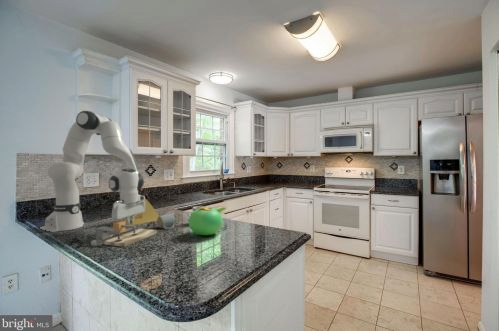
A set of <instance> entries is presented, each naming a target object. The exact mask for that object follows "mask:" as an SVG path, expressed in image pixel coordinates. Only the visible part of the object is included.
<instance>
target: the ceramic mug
mask: <svg viewBox="0 0 499 331" xmlns="http://www.w3.org/2000/svg"><path fill="white" fill-rule="evenodd" d="M156 222H157V226H158V228H160V229H165V230H166V231H171V230H173V229H174V227H175V224H176V219H175V216H174V214H173V213H172V212H171V213H167V214H162V215H159V217H158V219H157V221H156Z"/></svg>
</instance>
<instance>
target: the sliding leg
mask: <svg viewBox="0 0 499 331" xmlns="http://www.w3.org/2000/svg"><path fill="white" fill-rule="evenodd" d="M136 227H137V225H125V222H124V220H123V221H121V220H119V221H115V222H112V230H114V231H120V233H122V232H124V231H125V229H128V228H133V233H135V228H136Z"/></svg>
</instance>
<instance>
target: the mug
mask: <svg viewBox="0 0 499 331" xmlns="http://www.w3.org/2000/svg"><path fill="white" fill-rule="evenodd" d="M200 207H204V208H208V207H207V206H205V205H198V206H197V205H196V206H193V207H192V211H191V212H190V215H191V214H192V213H193V212H194V211H195V210H197V209H200Z"/></svg>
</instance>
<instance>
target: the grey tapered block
mask: <svg viewBox="0 0 499 331" xmlns="http://www.w3.org/2000/svg"><path fill="white" fill-rule="evenodd" d="M136 229H139V227H138V226H136V228H135V230H136ZM131 231H133V228H125V231H124V232H122V233H120V231H114V230H113V229H111V228H110V226H100V227H96V228H95V239H94V240H91V241H90V246H92V247H98V246H101V245H104V241H106V240H109V239H111V238H114V237H117V236H118V239H120V235H122V234H125V233H128V232H131Z"/></svg>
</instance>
